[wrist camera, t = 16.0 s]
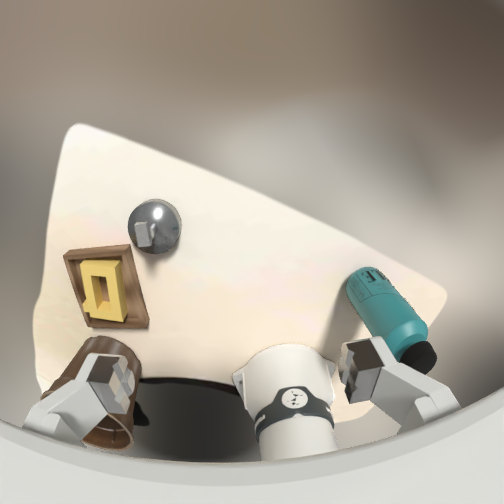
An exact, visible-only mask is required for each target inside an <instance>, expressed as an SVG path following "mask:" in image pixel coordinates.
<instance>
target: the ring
mask: <svg viewBox="0 0 504 504" xmlns="http://www.w3.org/2000/svg"><path fill="white" fill-rule="evenodd" d="M80 268H81V274H82V279H83V285H84V290H85V295H86V300H85V301H84V303H83V304H82V305H83V309H84V312H89V313H90V317H93V318H100V319H106V320H113V321H120V322H123V321H124V319H125V317H126V315H127V313H128V310H127V304H126V297H125V290H124V282H123V274H122V265H121V260H118V259H106V258H86V259H85V260H84V261H83V262H82V263H81V264H80ZM99 276H102V277H106V280H107V287H108V293H109V299H110V302H107V301H103V297H102V292H101V286H100V280H99Z"/></svg>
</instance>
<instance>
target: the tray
mask: <svg viewBox="0 0 504 504" xmlns="http://www.w3.org/2000/svg"><path fill="white" fill-rule="evenodd" d="M63 258H64V261H65V265H66V268H67V271H68V274H69V277H70V280H71V283H72V286H73V289H74V292H75V295H76V298H77V300H78V303H79V306H80V308H81V311H82V314H83V316H84V319H85V321H86V324H87V326H88V327H102V328H146V327H147V324H148V322H149V316H148V313H147V310H146V306H145V302H144V299H143V295H142V291H141V288H140V284H139V280H138V276H137V272H136V268H135V263H134V259H133V255H132V250H131V246H130V244H126V245H115V246H105V247H95V248H85V249H75V250H69V251H68V252H67V253H66V254H64V255H63ZM86 258H106V259H118V260H121V265H122V274H123V282H124V290H125V297H126V304H127V310H128V313H127V315H126V317H125V319H124V321H123V322H120V321H113V320H106V319H100V318H93V317H90V313H89V312H84V309H83V305H82V304H83V303H84V301H85V300H86V295H85V290H84V285H83V279H82V274H81V268H80V264H81V263H82V262H83V261H84V260H85V259H86ZM99 280H100V286H101V292H102V297H103V301H107V302H110V299H109V293H108V287H107V280H106V277H102V276H99Z"/></svg>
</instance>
